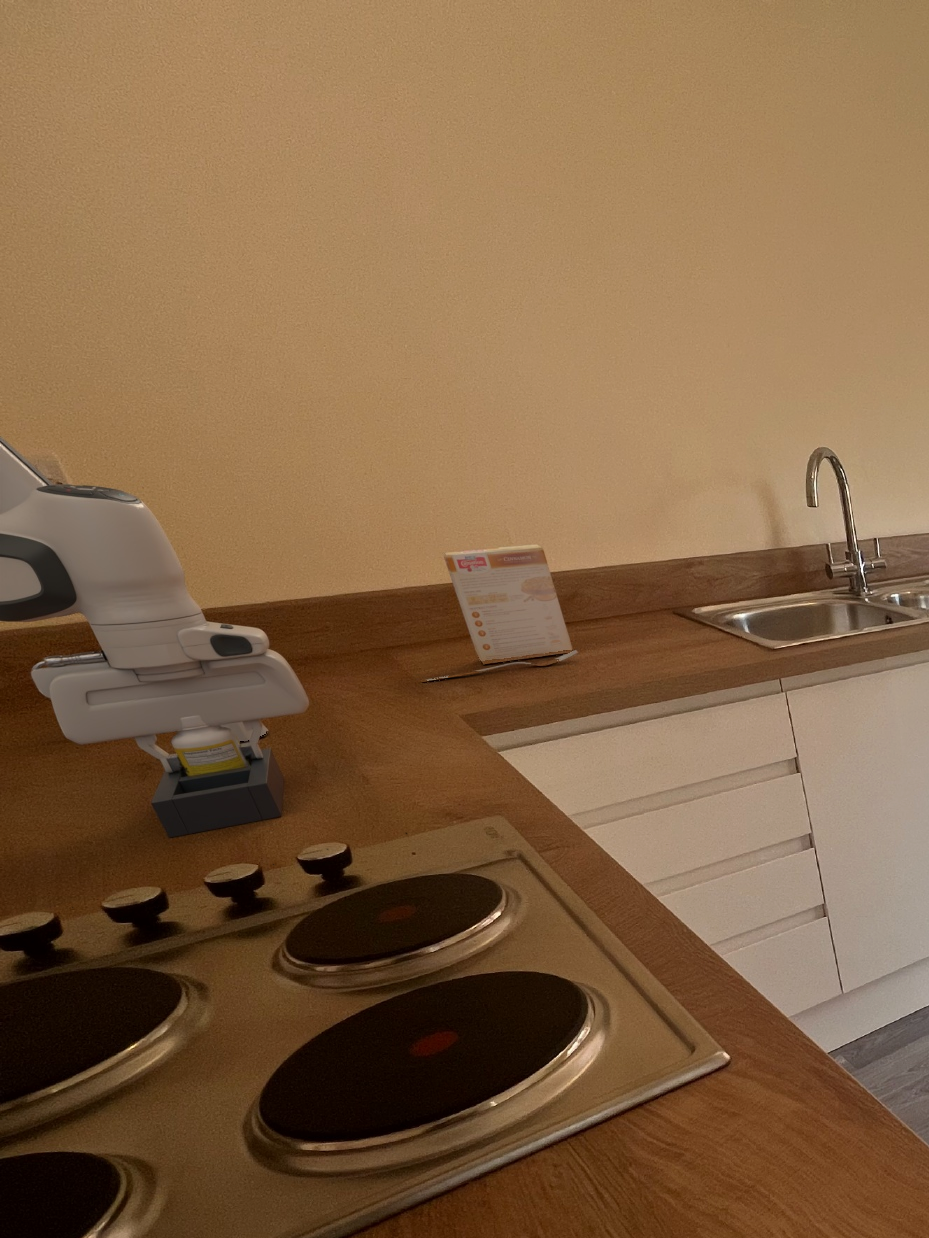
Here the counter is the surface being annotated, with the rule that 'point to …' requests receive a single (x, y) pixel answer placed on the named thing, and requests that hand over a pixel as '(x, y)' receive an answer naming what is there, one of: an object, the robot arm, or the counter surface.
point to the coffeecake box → (508, 601)
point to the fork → (522, 663)
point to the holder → (220, 797)
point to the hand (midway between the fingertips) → (217, 764)
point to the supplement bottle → (207, 747)
